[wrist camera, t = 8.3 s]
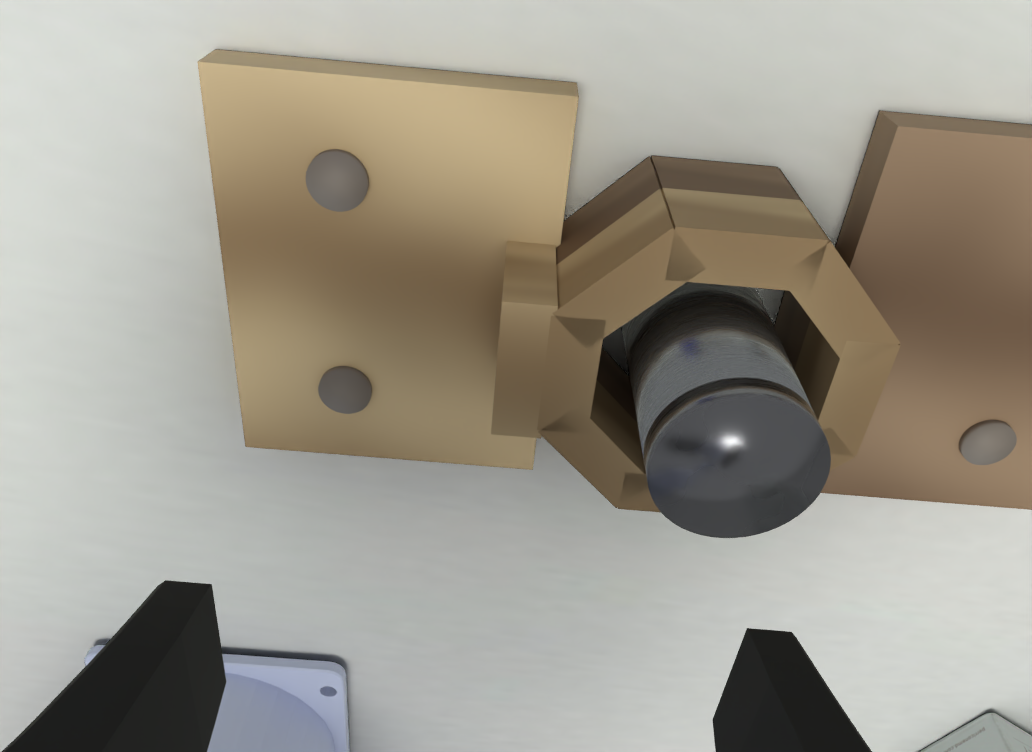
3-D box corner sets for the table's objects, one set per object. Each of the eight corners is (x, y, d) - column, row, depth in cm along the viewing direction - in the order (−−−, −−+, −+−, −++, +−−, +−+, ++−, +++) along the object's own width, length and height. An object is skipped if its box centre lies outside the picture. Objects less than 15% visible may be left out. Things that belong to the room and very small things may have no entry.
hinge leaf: (773, 463, 21) (811, 567, 18) (257, 421, 21) (209, 521, 18) (889, 111, 16) (968, 176, 13) (215, 49, 16) (140, 100, 13)
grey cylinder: (739, 358, 20) (808, 540, 15) (612, 354, 20) (637, 534, 15) (764, 241, 18) (850, 402, 13) (625, 236, 18) (658, 395, 13)
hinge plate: (1032, 484, 21) (1069, 534, 20) (525, 443, 21) (524, 491, 20) (1225, 143, 16) (1294, 174, 15) (566, 82, 16) (569, 107, 15)
